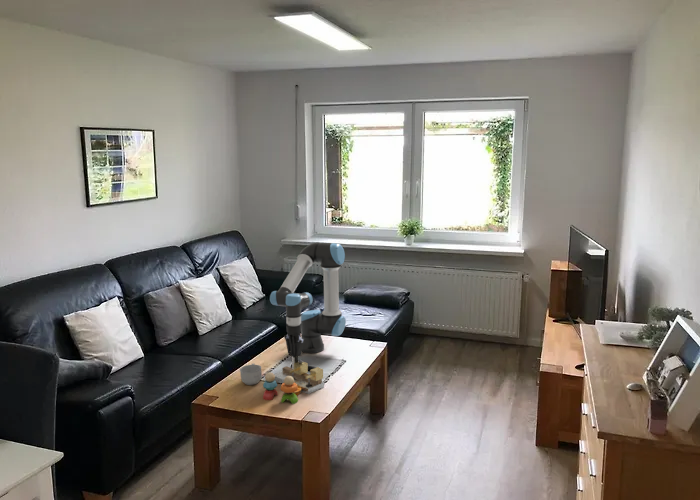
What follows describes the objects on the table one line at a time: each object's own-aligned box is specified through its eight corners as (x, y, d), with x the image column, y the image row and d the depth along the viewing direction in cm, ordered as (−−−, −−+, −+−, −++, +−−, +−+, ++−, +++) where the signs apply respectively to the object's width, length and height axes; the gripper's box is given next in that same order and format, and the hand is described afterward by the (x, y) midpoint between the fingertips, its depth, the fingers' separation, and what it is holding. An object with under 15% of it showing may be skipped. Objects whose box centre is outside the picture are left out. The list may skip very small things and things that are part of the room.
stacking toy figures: (306, 390, 280) (305, 366, 278) (295, 405, 263) (294, 380, 261) (271, 387, 284) (270, 363, 282) (258, 402, 267) (257, 377, 265)
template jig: (287, 373, 301) (287, 356, 300) (324, 386, 284) (323, 369, 282) (271, 379, 293) (271, 362, 292) (308, 393, 276) (307, 375, 274)
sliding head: (301, 373, 294) (300, 357, 293) (307, 375, 291) (307, 360, 289) (287, 378, 287) (286, 363, 286) (293, 381, 284) (293, 365, 282)
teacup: (257, 387, 284) (256, 372, 282) (237, 386, 286) (236, 371, 284) (267, 377, 297) (266, 362, 296) (247, 375, 299) (246, 361, 298)
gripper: (279, 323, 291) (281, 367, 294) (297, 328, 282) (298, 373, 286) (290, 320, 296) (291, 363, 300) (308, 324, 287) (308, 369, 291)
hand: (294, 368), depth 293 cm, fingers closed
